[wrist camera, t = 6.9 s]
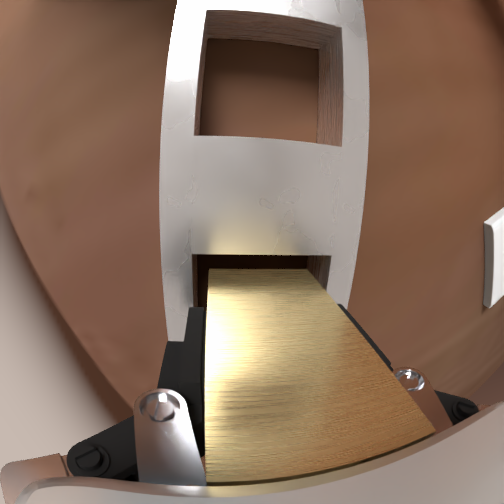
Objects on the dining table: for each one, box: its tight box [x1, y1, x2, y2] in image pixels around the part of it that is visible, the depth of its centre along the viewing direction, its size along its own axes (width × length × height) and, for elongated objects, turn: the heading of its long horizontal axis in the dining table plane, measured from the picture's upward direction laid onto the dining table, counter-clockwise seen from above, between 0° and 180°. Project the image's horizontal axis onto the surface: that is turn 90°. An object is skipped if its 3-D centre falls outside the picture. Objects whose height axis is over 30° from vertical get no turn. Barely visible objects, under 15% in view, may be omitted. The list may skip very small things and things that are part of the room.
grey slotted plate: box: [159, 0, 369, 341], centre depth 12 cm, size 22×8×3 cm, turn 177°
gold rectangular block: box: [205, 269, 436, 486], centre depth 8 cm, size 4×4×9 cm
